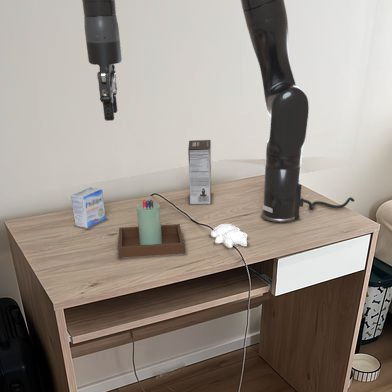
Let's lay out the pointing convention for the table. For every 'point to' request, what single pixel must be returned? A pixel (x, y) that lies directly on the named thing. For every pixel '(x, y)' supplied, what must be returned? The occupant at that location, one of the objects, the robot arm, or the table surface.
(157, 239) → the pen pot
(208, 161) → the coffee box
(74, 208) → the medicine box
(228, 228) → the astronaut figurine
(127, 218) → the table surface
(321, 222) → the table surface
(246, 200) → the table surface
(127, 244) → the tray
